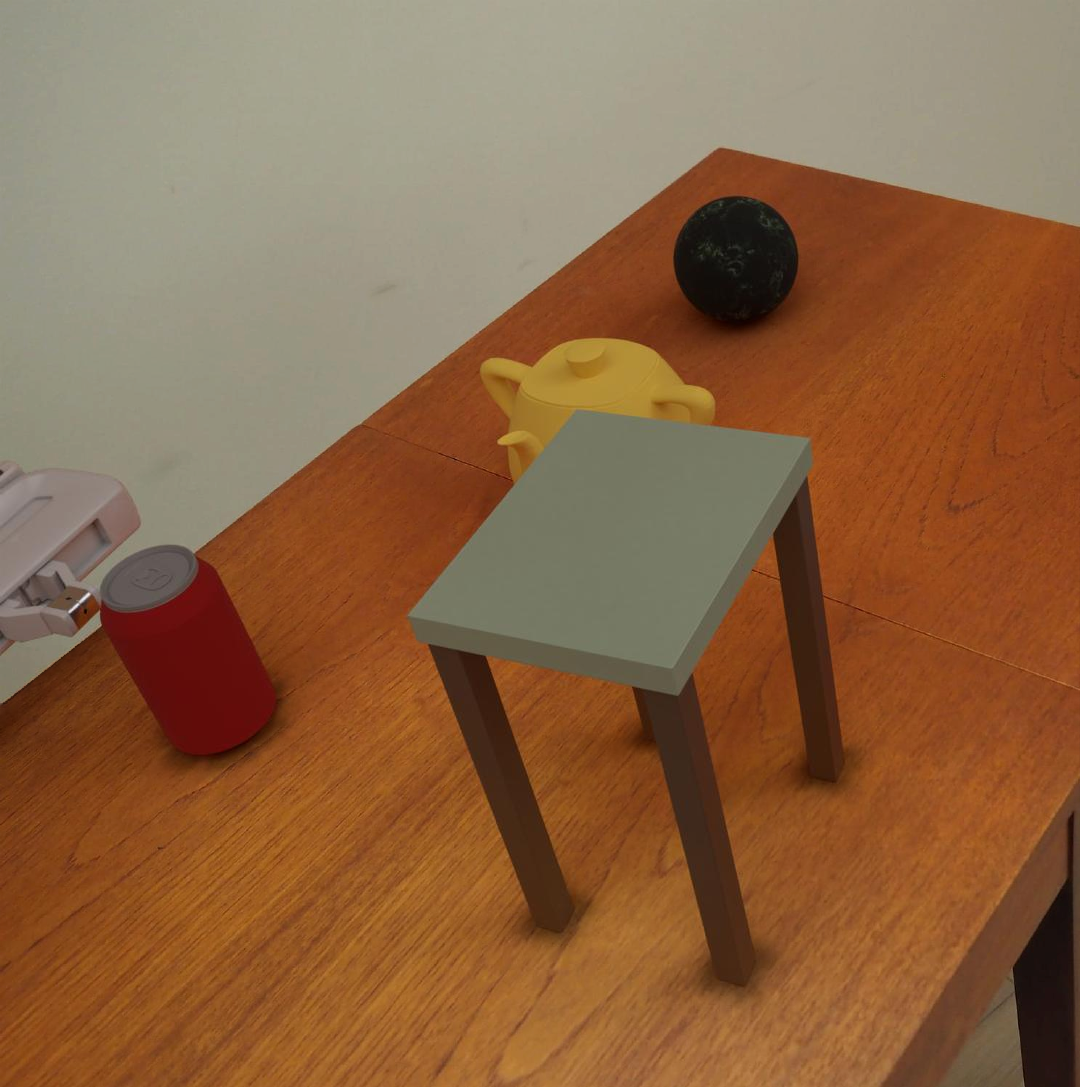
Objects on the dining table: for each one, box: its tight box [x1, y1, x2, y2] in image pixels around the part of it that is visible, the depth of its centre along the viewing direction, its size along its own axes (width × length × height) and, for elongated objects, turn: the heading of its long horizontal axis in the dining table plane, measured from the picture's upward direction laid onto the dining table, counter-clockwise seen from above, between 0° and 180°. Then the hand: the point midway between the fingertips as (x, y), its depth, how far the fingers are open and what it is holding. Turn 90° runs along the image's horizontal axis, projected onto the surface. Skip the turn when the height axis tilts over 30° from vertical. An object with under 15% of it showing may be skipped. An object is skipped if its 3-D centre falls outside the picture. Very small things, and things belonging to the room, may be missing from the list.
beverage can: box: [99, 544, 277, 756], centre depth 80 cm, size 7×7×12 cm
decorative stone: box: [672, 195, 799, 325], centre depth 110 cm, size 10×10×10 cm
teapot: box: [479, 337, 716, 486], centre depth 93 cm, size 14×14×12 cm
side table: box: [407, 409, 846, 988], centre depth 65 cm, size 15×12×22 cm
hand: (85, 611), depth 82 cm, fingers closed
